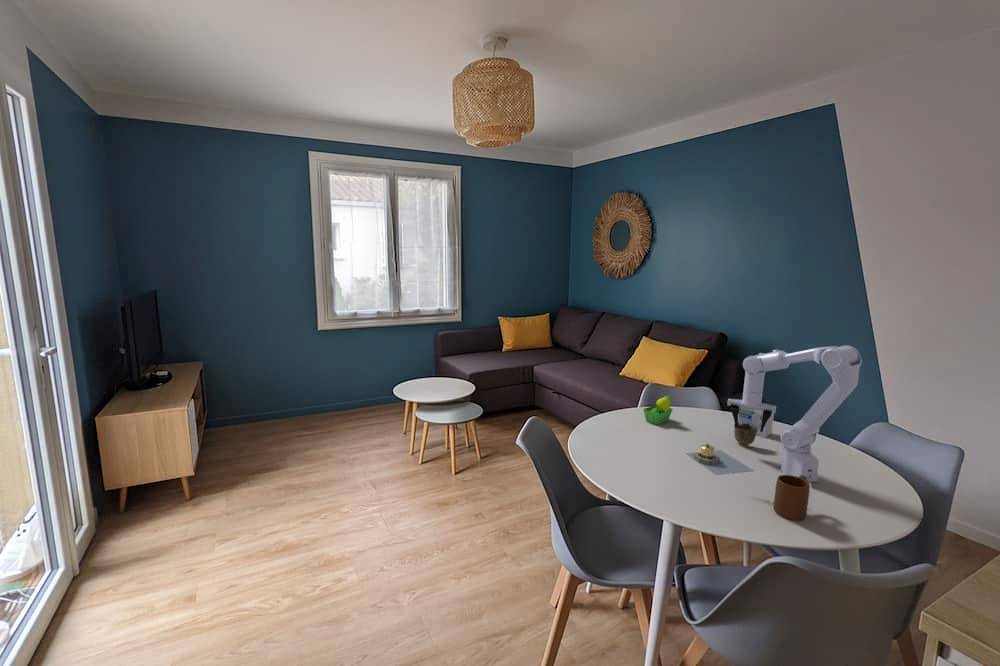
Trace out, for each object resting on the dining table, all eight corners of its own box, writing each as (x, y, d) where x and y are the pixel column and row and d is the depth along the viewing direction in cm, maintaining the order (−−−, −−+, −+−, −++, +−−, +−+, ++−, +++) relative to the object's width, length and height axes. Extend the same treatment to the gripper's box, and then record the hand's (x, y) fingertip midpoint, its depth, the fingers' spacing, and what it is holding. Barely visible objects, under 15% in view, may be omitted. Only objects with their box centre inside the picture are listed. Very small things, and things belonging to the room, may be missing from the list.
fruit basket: (656, 415, 203) (658, 389, 201) (675, 421, 197) (677, 395, 195) (641, 420, 196) (643, 394, 194) (660, 427, 189) (662, 400, 188)
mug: (786, 498, 135) (790, 467, 134) (816, 509, 130) (821, 477, 128) (768, 511, 128) (772, 479, 126) (799, 524, 122) (803, 491, 121)
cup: (750, 443, 174) (752, 422, 173) (758, 451, 167) (761, 430, 166) (729, 442, 175) (731, 421, 174) (736, 450, 168) (739, 429, 167)
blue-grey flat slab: (754, 473, 150) (755, 466, 150) (715, 477, 147) (716, 470, 147) (720, 452, 166) (721, 446, 165) (684, 456, 162) (685, 449, 162)
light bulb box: (736, 429, 188) (739, 403, 186) (743, 426, 192) (746, 400, 190) (765, 438, 180) (769, 410, 178) (772, 433, 184) (775, 407, 183)
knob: (713, 463, 155) (714, 449, 154) (700, 461, 156) (701, 447, 155) (712, 458, 159) (714, 444, 158) (700, 456, 160) (701, 442, 159)
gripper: (778, 391, 159) (773, 429, 161) (730, 384, 166) (726, 421, 169) (777, 396, 153) (772, 436, 155) (728, 389, 161) (724, 427, 163)
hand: (748, 428), depth 162 cm, fingers open, 7 cm apart
